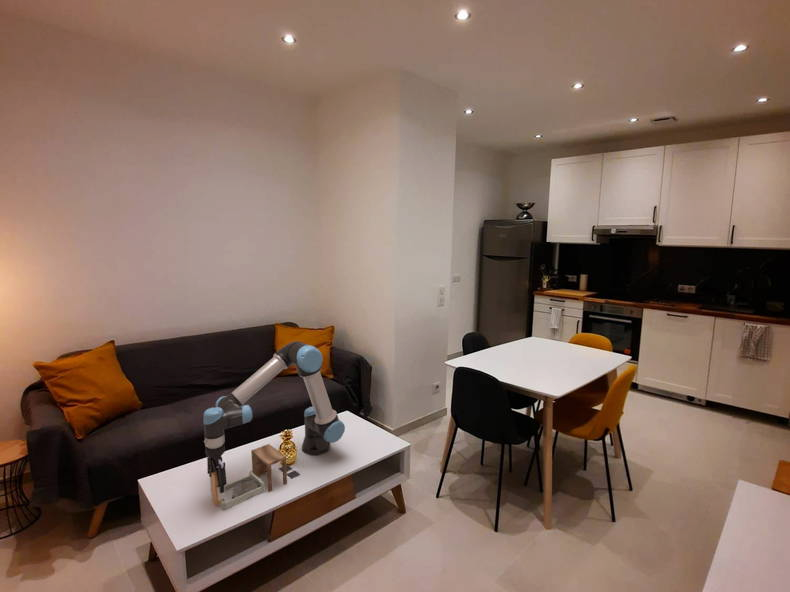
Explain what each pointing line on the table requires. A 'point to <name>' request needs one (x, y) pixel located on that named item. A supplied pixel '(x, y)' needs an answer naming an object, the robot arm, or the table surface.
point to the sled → (232, 485)
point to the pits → (291, 474)
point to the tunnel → (268, 462)
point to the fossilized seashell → (243, 488)
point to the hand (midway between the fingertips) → (217, 494)
